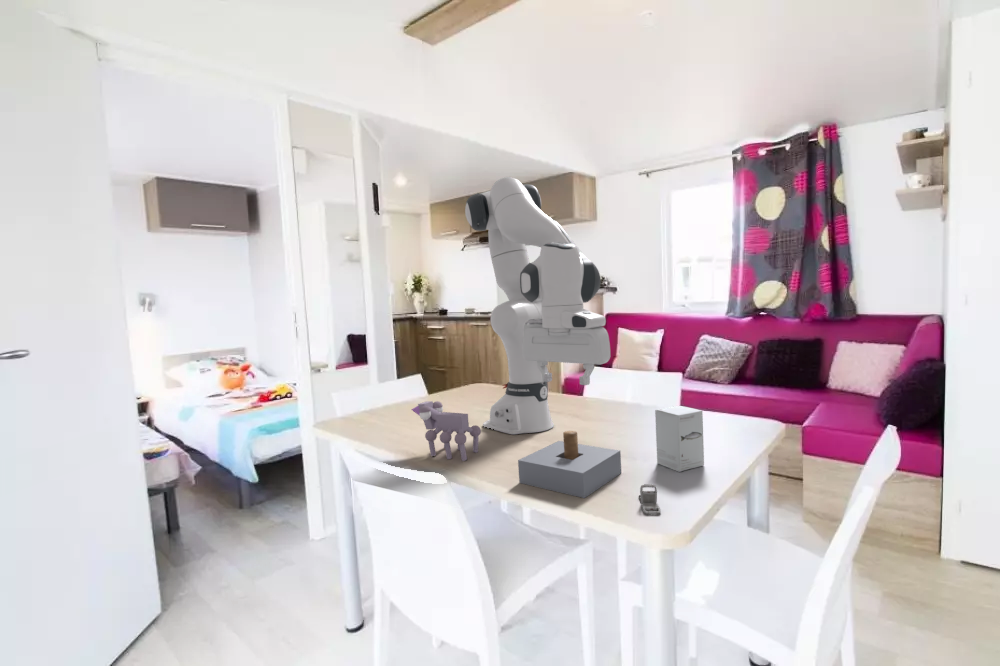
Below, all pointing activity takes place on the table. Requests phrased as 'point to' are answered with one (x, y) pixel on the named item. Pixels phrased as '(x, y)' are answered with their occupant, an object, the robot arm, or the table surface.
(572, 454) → the walnut peg
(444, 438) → the toy sheep
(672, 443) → the supplement box
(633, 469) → the table surface
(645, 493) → the strap clip
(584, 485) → the hole block
